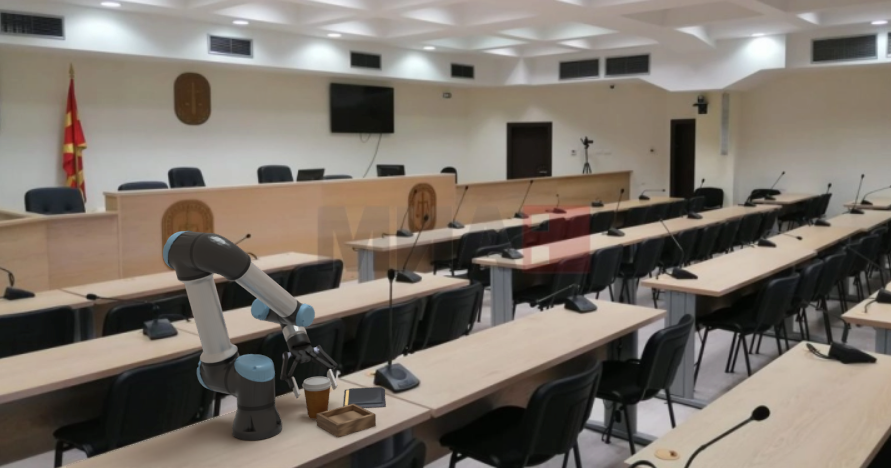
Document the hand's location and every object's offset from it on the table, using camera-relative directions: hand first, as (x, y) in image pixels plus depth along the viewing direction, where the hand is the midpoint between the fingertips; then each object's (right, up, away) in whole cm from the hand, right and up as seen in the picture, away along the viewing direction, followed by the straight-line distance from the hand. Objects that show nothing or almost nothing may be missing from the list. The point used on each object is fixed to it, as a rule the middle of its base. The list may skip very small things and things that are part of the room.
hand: (317, 392), depth 240 cm
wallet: (+14, -6, +15) cm, 22 cm away
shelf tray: (+11, -9, -10) cm, 17 cm away
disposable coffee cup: (0, -8, -1) cm, 8 cm away
